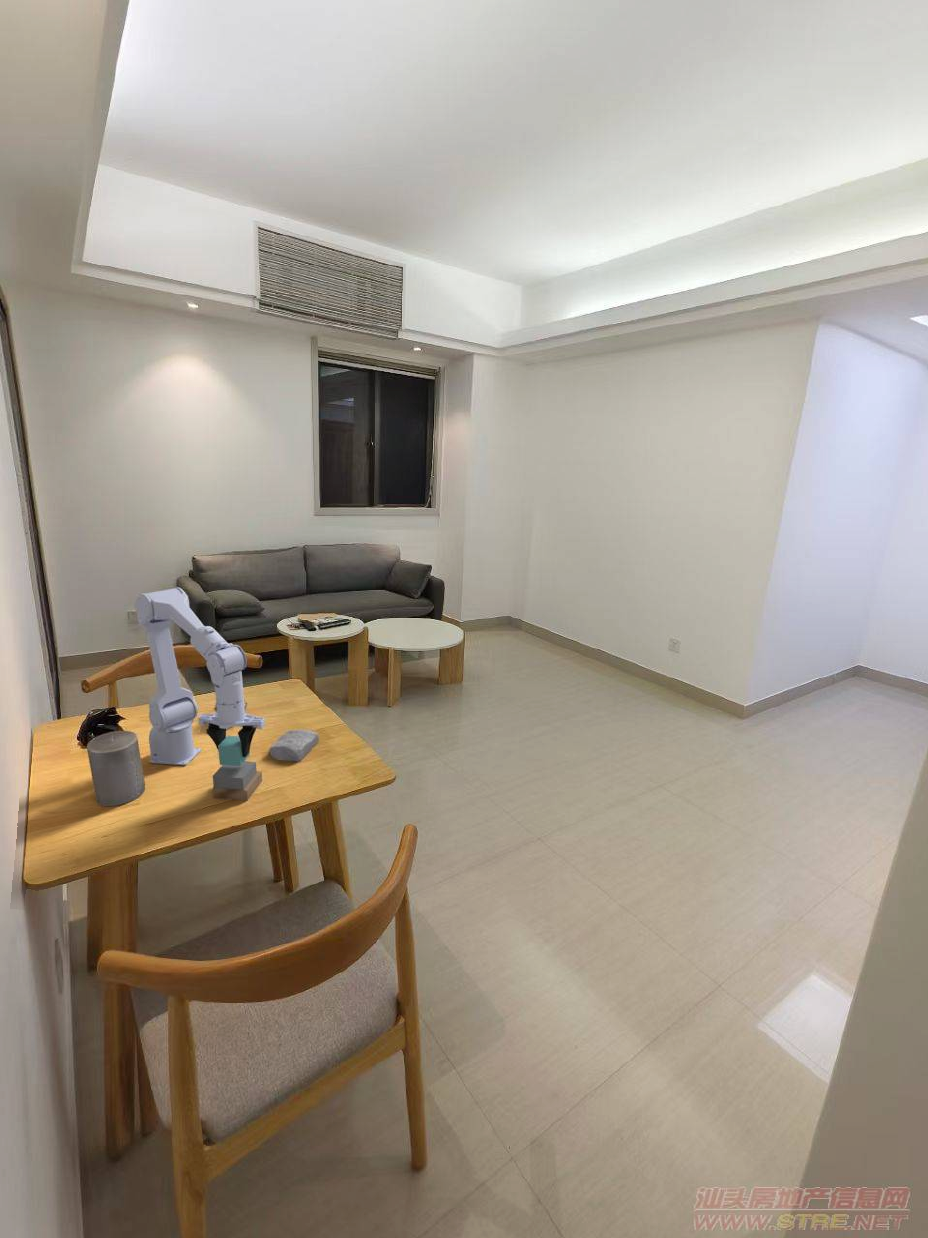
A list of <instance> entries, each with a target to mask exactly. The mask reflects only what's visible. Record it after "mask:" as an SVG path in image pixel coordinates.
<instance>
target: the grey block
mask: <svg viewBox="0 0 928 1238" xmlns="http://www.w3.org/2000/svg"><path fill="white" fill-rule="evenodd" d="M256 773H257V761H247V760H245V761H244V763H243V764H242V765H241V766H230V765H220V767H219V768H218V769H217V770H216V772H215V773H214V774H213V775H212V785H213V787H214V788H226V789H239V790H244V789H245V788H246V786H247V785H248V784H249V782H250V781H251V780H252V779H253V777H254V776H255V775H256Z"/></svg>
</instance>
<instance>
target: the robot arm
mask: <svg viewBox="0 0 928 1238" xmlns="http://www.w3.org/2000/svg"><path fill="white" fill-rule="evenodd" d="M134 608H135V613H136V618H137V622H138V626H139V627H140V628H144V629H145V633H146V637H147V642H148V647H149V651H150V657H151V661H152V662H151V663H152V666H153V671H154V675H155V681H156V684H157V689H158V690H157V692H156V693H155V694H154V695H153V696H152V698H151V699H149V701H148V707H149V711H148V718H149V722H150V724H151V726H152V727H151V729H150V731H149V734H148V743H149V749H150V751H149V752H150V760H149V763H150V764H161V765H174V766H176V765H177V766H186V765H188V764H189V763H190V762H191V761H192V760H193V759H194V758H196V756H197V755H198V754H199V753H200V752H201V751H202V748H201V747H195V746H194V737H193V727H192V726H193V725H192V724H194V722H195V720H194V719H196V718H197V720H198V726H205V725H208V728H207V729H206V732H205V733H206V734H207V735H208V736H209V737H210V739H211V740H212V741H213V743H214V745H215V747H216V748H217V751H218V745H219V744H220V743H221V742H222V741H223V740H224V739H225V738H226V737H227V729H229V728H233V727H241V728H240V730H239V731H238V732H237V736H239V738H240V741H241V746H242V755H243V757H246V756H247V755H248V754H249V753H250V751H251V744H252V741H253V738H254V735H255V733H256V731H257V730H263V729H264V728H265V726H266V720H265V719H266V718H265V717H261V716H260V717H259V716H256V715H253V714H248V713H246V710H245V708H244V700H245V699H244V697H245V696H244V685H243V676H242V675H243V674H242V673H243V672H242V671H243V670H245V669H246V668H247V662H248V661H247V656H246V653H245V651H244V650H243V648H242V647H241V646H240V645H238V644H233V643H228V642H227V640H225V638H223V636H222V635H221V634H220V633H219V632H218V631H217V630H215V628H213V627H212V626H209V625H206V626H205V625H204V624H203V623H202V621H201V620H200V619H199V617H198V616H197V615H196V614H195V612H194V611H193V610H192V609H191V607H190V599H189V595H188V594H187V593H186V592H185V591H184V590H183V589H182V588H181V587H179V586H178V587H177V586H176V587H174V588H169V589H165V590H159V591H152V592H147V593H143V592H142V593H139V594H138V595H137V597H136V599H135V601H134ZM173 622H174V623H175V624H176V625H178V627H180V628H181V629H182V630H183V631H184V632H185V633H187V635H189V636H190V641H189V642H190V645H191V646H192V647H193V648H194V649H195V650H196V651H197V653H199V655H201V656H202V657H203V658H204V659H205V661H206V662H205V664H206V668H207V670H208V672H209V675H210V679H211V683H212V684H214V692H215V693H214V694H215V705H216V706H217V713H216V712H215V713H202V714H201V715H199V716H198V714H199V707H198V703H197V702H196V700H195V697H194V694H193V692H192V691H191V690H189V689H187V688H185V687H182V683H181V680H180V674H179V670H178V664H177V660H176V655H175V651H174V649H175V648H174V645H173V641H172V636H171V630H170V627H171V625H172V624H173ZM197 716H198V717H197ZM218 753H219V751H218Z"/></svg>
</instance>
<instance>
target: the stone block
mask: <svg viewBox="0 0 928 1238" xmlns="http://www.w3.org/2000/svg"><path fill="white" fill-rule="evenodd" d="M319 740H320V736H319V732H315V731H311V730H308V729H301V728H300V729H299V728H298V729H292V730H288V731H286V732H285V733H284V734H282V735H281V736H280V737H279V738H278V739H277V740H276V741H275V742H273V744H272V745H271V746H270V747H269V753H270V756H271V758H272V759H275V760H278V761H290V762H295V763H296V762H297V763H300V762H302V761H303V760H304V759H305V757H306V756H307V755H308V754H309V753H310V752H311V751H312V748H313V747H314V746H315V745H316V744H318V743H319ZM316 746H317V745H316ZM316 746H315V747H316ZM315 747H314V748H315ZM314 748H313V749H314Z"/></svg>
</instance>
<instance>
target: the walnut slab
mask: <svg viewBox="0 0 928 1238" xmlns="http://www.w3.org/2000/svg"><path fill="white" fill-rule="evenodd" d="M262 782H263V772H262V771H257V773H256V775H255V776H254V777H253V779H252V780H251V781H250V782H249V784H248V785H247V786H246V788H245V789H244V790H239V789H226V788H214V786H213V787H212V797H213V799H220V800H222V799H223V800H233V801H249V800H250V798H251V796H252V795H253V794H254V793H255V792H256V790H257V789H258V787H259V786H260V785H261V783H262Z"/></svg>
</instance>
